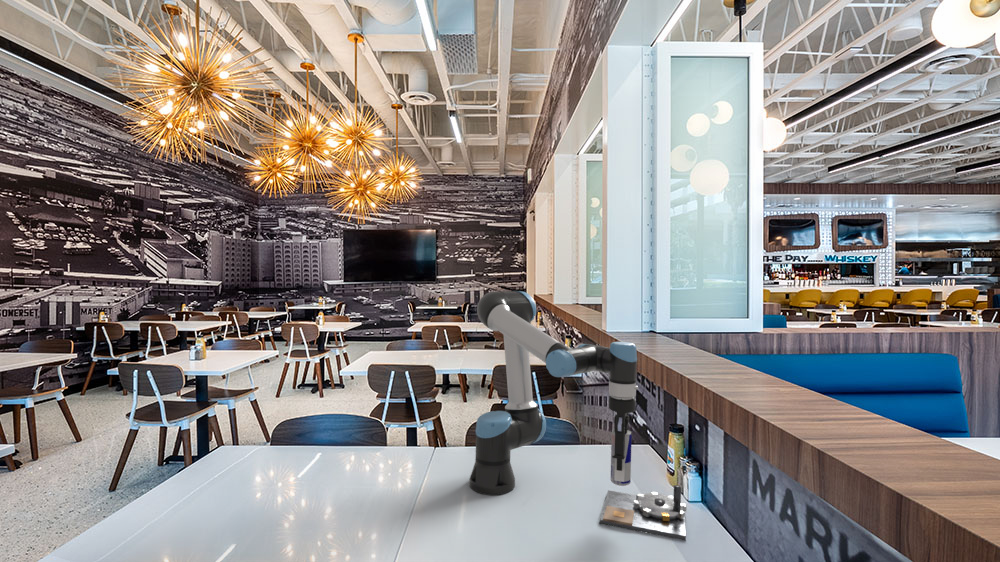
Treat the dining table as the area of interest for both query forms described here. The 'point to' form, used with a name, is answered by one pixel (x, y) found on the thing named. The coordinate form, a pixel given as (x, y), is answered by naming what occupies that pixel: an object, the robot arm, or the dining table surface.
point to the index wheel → (661, 505)
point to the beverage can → (627, 459)
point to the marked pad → (619, 515)
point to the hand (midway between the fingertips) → (620, 476)
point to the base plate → (643, 518)
